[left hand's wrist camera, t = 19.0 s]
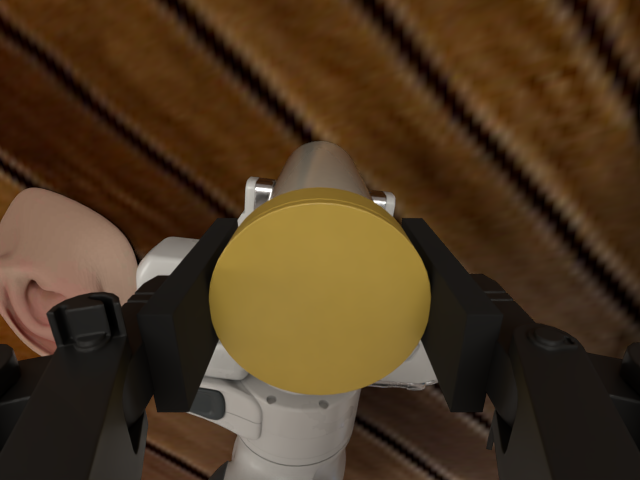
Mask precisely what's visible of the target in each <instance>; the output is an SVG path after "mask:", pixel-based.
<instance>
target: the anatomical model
mask: <svg viewBox="0 0 640 480" xmlns="http://www.w3.org/2000/svg"><path fill="white" fill-rule="evenodd" d="M137 268H138V265H137V261H136V257H135V255H134V252H133V249H132V247H131V245H130V243H129V241H128V240H127V238H126V237H125V236H124V234H123V233H122V232H121V231H120V230H119V229H118V228H117V227H116V226H115V225H113V224H112V223H111V222H110V221H108V220H107V219H106V218H104V217H103V216H101V215H100V214H98V213H97V212H95V211H93V210H92V209H90V208H88V207H86V206H84V205H82V204H80V203H78V202H76V201H74V200H72V199H70V198H67V197H65V196H63V195H60V194H58V193H55V192H52V191H49V190H46V189H41V188H28V189H25V190H24V191H22V192H20V193H19V194H18V195H17V196H16V198H15V199H14V200H13V201H12V203H11V205H10V206H9V208H8V210H7V211H6V213H5V215H4V217H3V219H2V220H1V223H0V314H1V315H2V317H3V318H4V319H5V321H6V322H7V323H8V325H9V326H10V327H11V329H12V330H13V331H14V332H15V334H16V335H17V336H18V337H19V338H20V339H21V340H22V341H23V342H24V343H25V344H26V345H27V346H28V347H30V348H31V349H32V350H33V351H35V352H36V353H38V354H39V355H41V356H47V355H52V354H54V352H55V350H56V348H57V346H56V343H55V340H54V337H53V334H52V331H51V328H50V324H49V321H48V318H47V315H46V313H47V312H48V311H49V310H50V309H51V308H52V307H53V306H55V305H57V304H59V303H60V302H62V301H64V300H67V299H69V298H72V297H75V296H78V295H82V294H87V293H91V292H108V293H114V294H115V295H117V296H118V297H119V300H120V304H121V306H122V305H123V304H124V303H127V300H128V299H129V298H130V297H131V296H132V295H134V294H135V292H136V291H137V287H136V271H137Z"/></svg>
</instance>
